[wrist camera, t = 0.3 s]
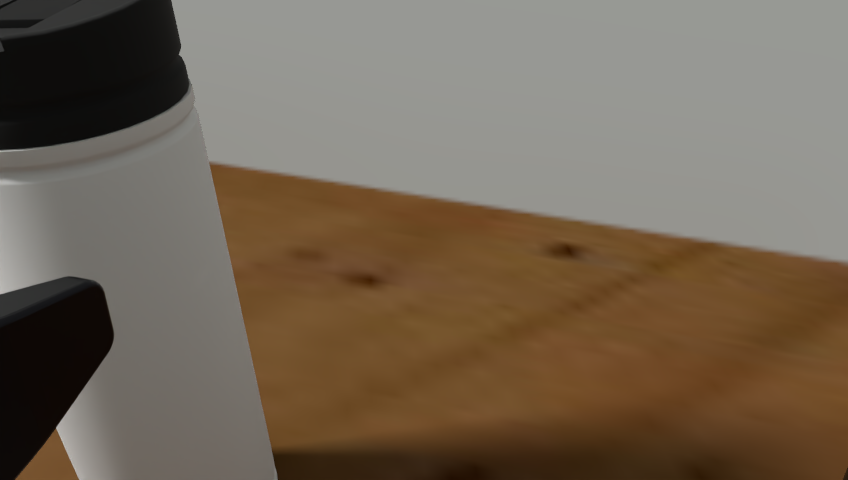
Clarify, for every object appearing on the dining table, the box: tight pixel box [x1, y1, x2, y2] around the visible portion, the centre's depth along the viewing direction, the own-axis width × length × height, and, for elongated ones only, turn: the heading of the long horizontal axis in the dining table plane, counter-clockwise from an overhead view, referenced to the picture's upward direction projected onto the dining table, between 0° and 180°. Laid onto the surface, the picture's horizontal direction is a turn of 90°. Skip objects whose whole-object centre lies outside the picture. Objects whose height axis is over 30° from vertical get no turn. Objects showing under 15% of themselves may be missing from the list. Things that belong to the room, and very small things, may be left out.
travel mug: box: [0, 0, 278, 480], centre depth 21 cm, size 6×7×20 cm
